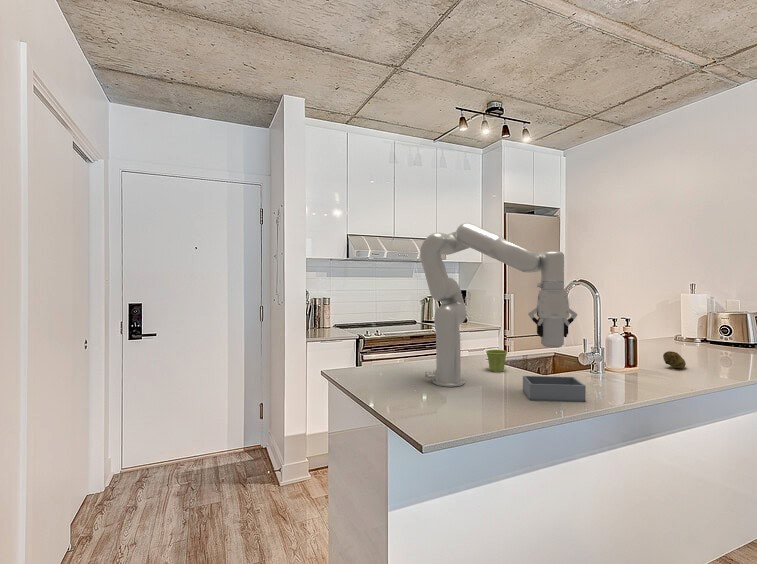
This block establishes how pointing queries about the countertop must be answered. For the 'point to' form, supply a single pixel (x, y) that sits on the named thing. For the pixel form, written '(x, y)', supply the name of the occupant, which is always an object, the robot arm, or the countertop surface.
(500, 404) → the countertop surface
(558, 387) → the tote
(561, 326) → the can
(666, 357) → the avocado
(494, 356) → the plant pot
